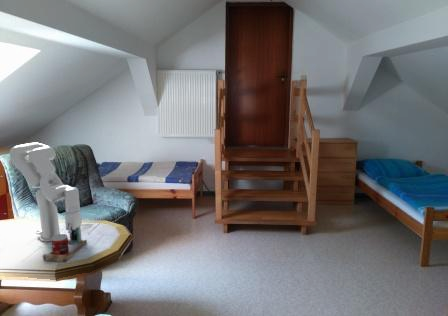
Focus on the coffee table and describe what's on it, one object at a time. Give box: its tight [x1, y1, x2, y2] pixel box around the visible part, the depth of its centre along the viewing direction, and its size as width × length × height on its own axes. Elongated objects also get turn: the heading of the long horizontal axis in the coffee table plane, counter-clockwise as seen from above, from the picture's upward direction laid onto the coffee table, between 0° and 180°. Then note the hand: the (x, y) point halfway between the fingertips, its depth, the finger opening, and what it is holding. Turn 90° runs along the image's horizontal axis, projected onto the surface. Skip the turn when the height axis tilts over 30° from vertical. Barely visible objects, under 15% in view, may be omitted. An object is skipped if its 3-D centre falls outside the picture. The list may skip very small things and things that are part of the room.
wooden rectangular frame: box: [42, 227, 88, 263], centre depth 193 cm, size 12×23×9 cm, turn 174°
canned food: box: [50, 233, 70, 255], centre depth 188 cm, size 8×8×11 cm
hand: (75, 238), depth 204 cm, fingers closed on wooden rectangular frame, 2 cm apart
